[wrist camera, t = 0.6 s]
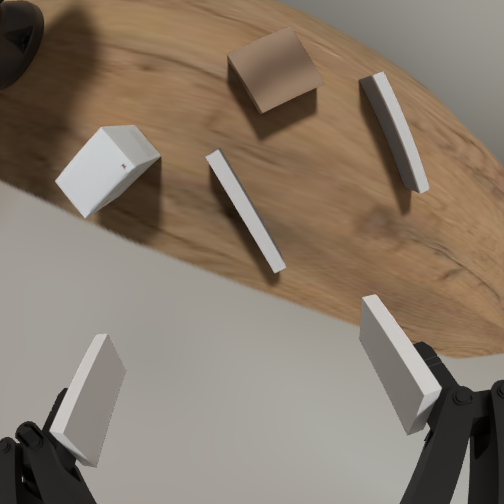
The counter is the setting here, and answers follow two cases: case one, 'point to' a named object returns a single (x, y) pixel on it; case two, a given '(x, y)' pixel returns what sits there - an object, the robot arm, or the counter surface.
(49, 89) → the counter surface
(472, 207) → the counter surface
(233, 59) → the walnut block
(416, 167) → the corridor walls
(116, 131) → the small box
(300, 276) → the counter surface
